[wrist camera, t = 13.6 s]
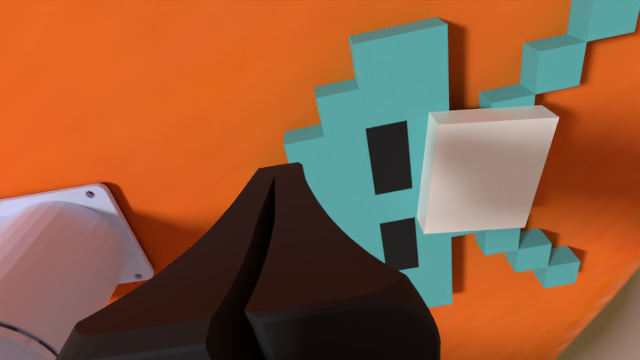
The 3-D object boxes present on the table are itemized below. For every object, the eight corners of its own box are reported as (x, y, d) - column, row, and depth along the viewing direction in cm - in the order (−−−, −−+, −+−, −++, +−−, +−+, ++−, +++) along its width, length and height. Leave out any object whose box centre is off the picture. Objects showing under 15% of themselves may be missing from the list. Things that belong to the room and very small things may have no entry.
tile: (423, 233, 23) (524, 227, 23) (438, 124, 19) (559, 117, 19) (416, 217, 24) (512, 210, 24) (428, 111, 20) (542, 104, 21)
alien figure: (612, -25, 19) (223, 60, 21) (646, -19, 17) (216, 73, 19) (558, 260, 30) (305, 304, 31) (575, 282, 28) (305, 328, 30)
